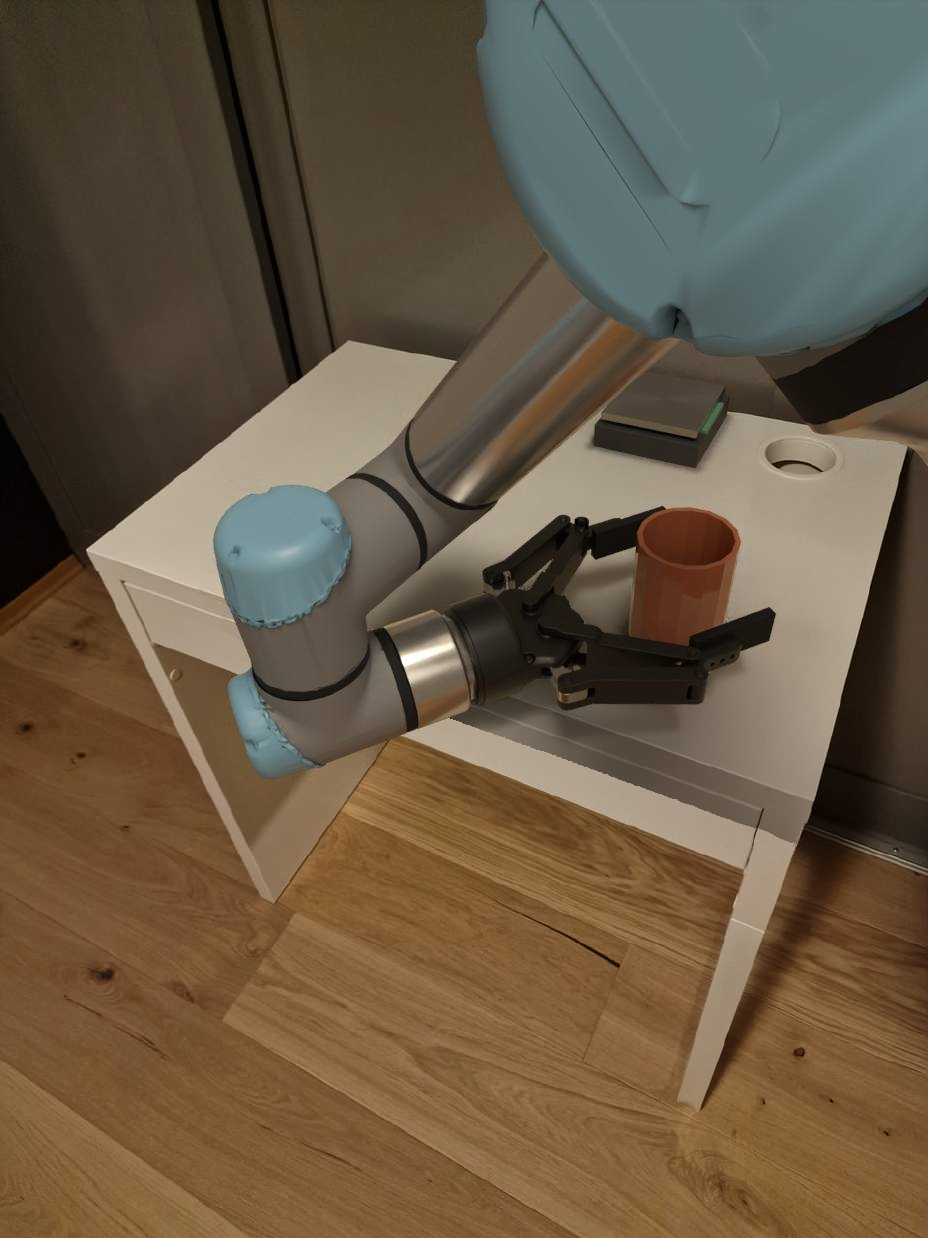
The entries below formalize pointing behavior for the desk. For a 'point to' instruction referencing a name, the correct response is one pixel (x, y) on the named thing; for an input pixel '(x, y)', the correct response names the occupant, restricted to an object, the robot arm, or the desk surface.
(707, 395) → the pan
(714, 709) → the desk surface
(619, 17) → the robot arm
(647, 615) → the cup
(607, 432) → the scale base
